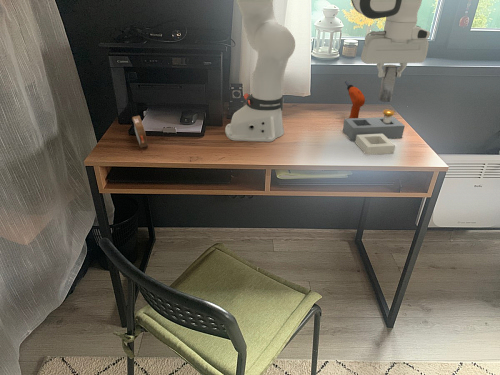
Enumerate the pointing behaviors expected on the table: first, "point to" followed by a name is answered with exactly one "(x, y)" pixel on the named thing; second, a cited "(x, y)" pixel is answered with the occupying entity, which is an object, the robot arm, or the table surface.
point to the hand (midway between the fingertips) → (389, 76)
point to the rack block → (375, 144)
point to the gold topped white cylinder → (387, 116)
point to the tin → (140, 131)
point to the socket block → (372, 127)
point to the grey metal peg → (387, 83)
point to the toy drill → (355, 100)
